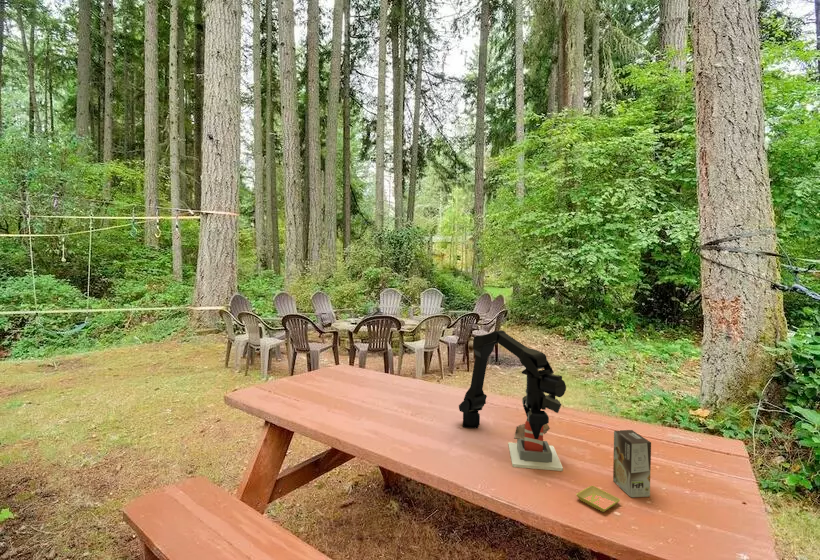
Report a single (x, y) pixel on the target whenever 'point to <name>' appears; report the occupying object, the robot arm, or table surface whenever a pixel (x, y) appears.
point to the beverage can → (532, 439)
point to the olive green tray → (596, 491)
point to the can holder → (534, 457)
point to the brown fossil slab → (521, 431)
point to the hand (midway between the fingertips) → (534, 433)
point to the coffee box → (632, 463)
